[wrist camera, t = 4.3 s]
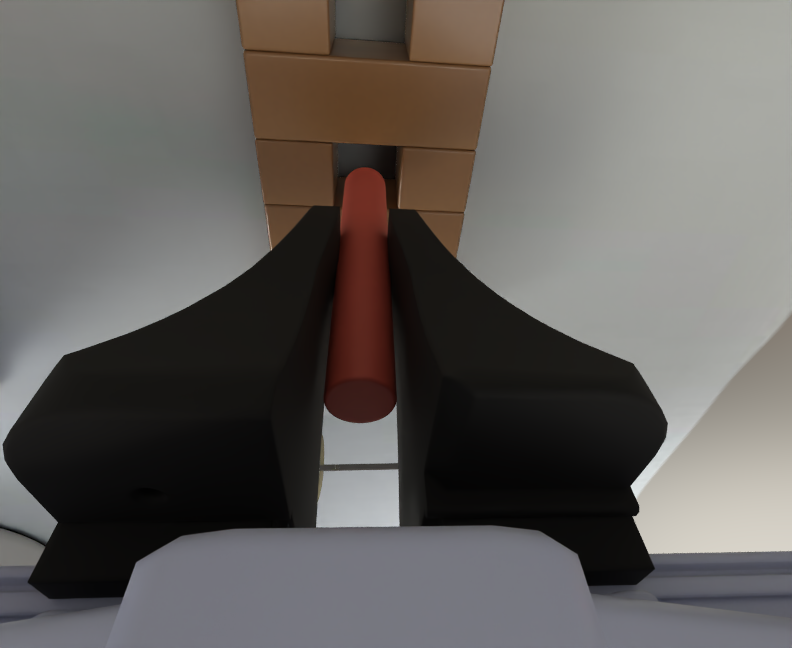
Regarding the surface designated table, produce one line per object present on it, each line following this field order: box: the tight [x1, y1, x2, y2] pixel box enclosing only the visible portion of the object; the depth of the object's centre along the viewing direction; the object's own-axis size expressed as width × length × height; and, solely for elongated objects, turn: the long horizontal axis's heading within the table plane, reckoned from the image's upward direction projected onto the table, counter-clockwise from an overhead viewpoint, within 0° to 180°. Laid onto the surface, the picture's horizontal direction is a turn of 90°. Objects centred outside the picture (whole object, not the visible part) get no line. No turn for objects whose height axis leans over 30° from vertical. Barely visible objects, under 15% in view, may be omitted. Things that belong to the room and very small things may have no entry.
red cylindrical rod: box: [323, 167, 397, 423], centre depth 10 cm, size 1×1×8 cm
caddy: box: [236, 0, 504, 258], centre depth 15 cm, size 15×6×2 cm, turn 176°
